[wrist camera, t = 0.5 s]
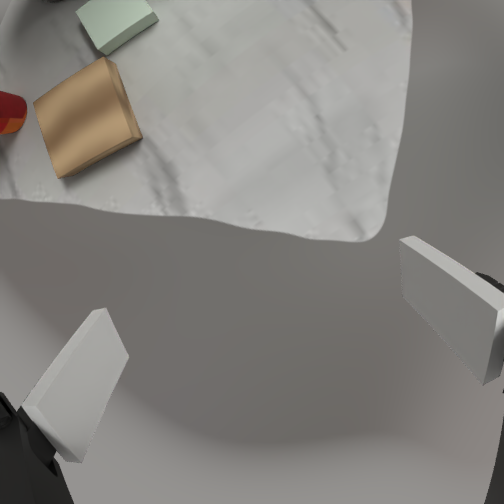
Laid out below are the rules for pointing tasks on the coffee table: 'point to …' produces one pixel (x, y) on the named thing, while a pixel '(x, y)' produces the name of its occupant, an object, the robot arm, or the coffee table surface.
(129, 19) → the sage pad
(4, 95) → the paper cup
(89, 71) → the oak block
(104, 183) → the coffee table surface
